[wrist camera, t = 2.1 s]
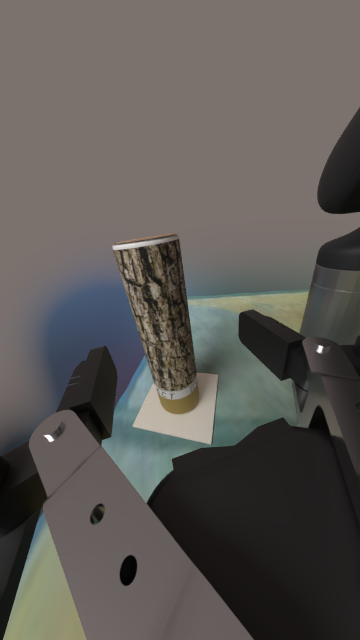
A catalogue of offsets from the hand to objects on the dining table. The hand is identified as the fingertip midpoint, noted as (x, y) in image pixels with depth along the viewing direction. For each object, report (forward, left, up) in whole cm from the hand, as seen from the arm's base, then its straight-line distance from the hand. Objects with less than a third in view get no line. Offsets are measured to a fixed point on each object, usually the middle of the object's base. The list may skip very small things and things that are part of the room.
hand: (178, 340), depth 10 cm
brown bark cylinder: (-10, -6, -20) cm, 23 cm away
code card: (-10, -6, -20) cm, 23 cm away
